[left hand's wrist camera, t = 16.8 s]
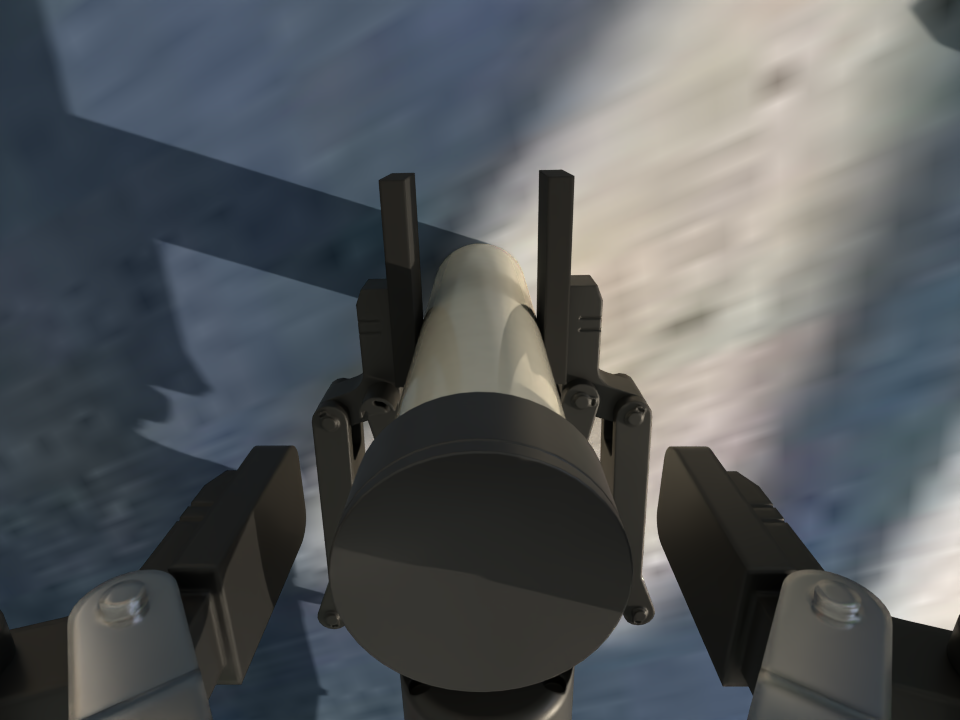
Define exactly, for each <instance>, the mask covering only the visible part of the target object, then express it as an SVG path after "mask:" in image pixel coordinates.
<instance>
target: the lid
mask: <svg viewBox="0 0 960 720" xmlns="http://www.w3.org/2000/svg"><path fill="white" fill-rule="evenodd" d="M328 575H329V586H330V591H331V595H332V599H333V603H334V605H335V607H336V610H337V612H338V615H339V617H340V619H341V620H342V622H343V624H344V625H345V627H346V628H347V630H348V631H349V633H350V634H351V635H352V636H353V638H354V639H355V640H356V641H357V643H358V644H360V645H361V646H362V647H363V648H364V649H365V650H366V651H367V652H368V653H369V654H370V655H371V656H373V657H374V658H376V659H377V660H378V661H380V662H381V663H382V664H384V665H385V666H387V667H389V668H391V669H392V670H394V671H396V672H398V673H400V674H402V675H404V676H406V677H409V678H411V679H413V680H416V681H419V682H422V683H425V684H428V685H431V686H436V687H440V688H445V689H450V690H459V691H469V692H491V691H504V690H510V689H516V688H521V687H525V686H529V685H533V684H536V683H539V682H542V681H545V680H547V679H550V678H553V677H555V676H557V675H559V674H561V673H563V672H565V671H567V670H569V669H571V668H572V667H574V666H575V665H577V664H579V663H580V662H582V661H583V660H585V659H586V658H587V657H588V656H589V655H591V654H592V653H593V652H594V651H595V650H597V649H598V648H599V647H600V645H601V644H602V643H603V642H604V641H605V640H606V639H607V638H608V637H609V635H610V634H611V633H612V631H613V630H614V629H615V627H616V626H617V624H618V622H619V620H620V619H621V617H622V615H623V613H624V611H625V608H626V605H627V602H628V599H629V596H630V592H631V586H632V580H633V561H632V555H631V549H630V545H629V542H628V539H627V536H626V533H625V530H624V527H623V525H622V522H621V519H620V516H619V513H618V511H617V508H616V505H615V502H614V499H613V497H612V494H611V491H610V488H609V485H608V483H607V480H606V477H605V474H604V471H603V469H602V466H601V463H600V461H599V459H598V457H597V455H596V453H595V451H594V449H593V448H592V446H591V445H590V444H589V442H588V441H587V440H586V438H585V437H584V436H583V435H582V434H581V433H580V432H579V431H578V430H577V429H576V428H575V427H574V425H572V424H571V423H570V422H568V421H567V420H566V419H565V418H563V417H562V416H561V415H559V414H557V413H556V412H554V411H552V410H551V409H549V408H547V407H545V406H543V405H541V404H538V403H536V402H533V401H531V400H528V399H525V398H521V397H518V396H514V395H510V394H503V393H497V392H466V393H457V394H452V395H447V396H442V397H439V398H436V399H433V400H430V401H427V402H425V403H423V404H420V405H418V406H416V407H414V408H412V409H410V410H408V411H407V412H405V413H404V414H402V415H401V416H399V417H398V418H396V419H395V420H394V421H392V422H391V423H390V424H389V425H388V426H387V427H386V428H384V429H383V430H382V431H381V433H380V434H379V435H378V436H377V437H376V438H375V440H374V441H373V442H372V444H371V445H370V447H369V448H368V450H367V451H366V453H365V454H364V457H363V459H362V461H361V463H360V466H359V468H358V471H357V474H356V477H355V479H354V482H353V485H352V488H351V491H350V494H349V496H348V499H347V502H346V505H345V508H344V510H343V513H342V516H341V519H340V522H339V525H338V527H337V530H336V533H335V536H334V539H333V543H332V547H331V550H330V555H329V565H328Z"/></svg>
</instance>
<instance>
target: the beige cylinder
mask: <svg viewBox="0 0 960 720" xmlns="http://www.w3.org/2000/svg"><path fill="white" fill-rule="evenodd" d="M466 392H497V393H503V394H510V395H514V396H518V397H521V398H525V399H528V400H531V401H533V402H536V403H538V404H541V405H543V406H545V407H547V408H549V409H551V410H552V411H554V412H556V413H557V414H559V415H561V416H562V417H563V418H565V414H564V411H563V407H562V404H561V401H560V397H559V394H558V390H557V387H556V383H555V380H554V377H553V373H552V370H551V366H550V363H549V360H548V356H547V353H546V349H545V346H544V342H543V339H542V336H541V332H540V329H539V325H538V322H537V319H536V315H535V312H534V308H533V305H532V301H531V298H530V295H529V291H528V288H527V284H526V281H525V278H524V274H523V272H522V269H521V267H520V266H519V264H518V263H517V261H516V260H515V259H514V258H513V257H512V256H511V255H510V254H509V253H507V252H506V251H505V250H503V249H501V248H499V247H496V246H493V245H489V244H471V245H467V246H464V247H461V248H459V249H457V250H456V251H454V252H453V253H451V254H450V255H449V256H448V257H447V258H446V259H445V260H444V261H443V263H442V264H441V266H440V268H439V270H438V272H437V275H436V278H435V281H434V285H433V288H432V292H431V295H430V299H429V302H428V305H427V309H426V312H425V316H424V319H423V323H422V326H421V330H420V333H419V337H418V340H417V344H416V347H415V350H414V354H413V357H412V361H411V364H410V368H409V371H408V375H407V378H406V382H405V385H404V389H403V392H402V395H401V399H400V402H399V406H398V409H397V413H396V416H395V419H396V418H398V417H399V416H401V415H402V414H404V413H405V412H407V411H408V410H410V409H412V408H414V407H416V406H418V405H420V404H423V403H425V402H427V401H430V400H433V399H436V398H439V397H442V396H447V395H452V394H457V393H466ZM565 419H566V418H565Z"/></svg>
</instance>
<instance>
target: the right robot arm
mask: <svg viewBox="0 0 960 720" xmlns="http://www.w3.org/2000/svg"><path fill="white" fill-rule="evenodd" d="M379 191H380V203H381V215H382V228H383V240H384V252H385V265H386V277H387V279H368V281H367V282H366V284H365V285H364V286H363V288H362V289H361V291H360V294H359V298H358V301H357V304H356V308H357V317H358V327H359V334H360V335H359V337H360V347H361V356H362V366H363V373H362V374H360V375H359V376H356V377H353V378H351V379H347V378H340V379H337V380H335V381H334V382H332V384H331V386H330V387H329V389H328V390H327V392H326V394H325V395H324V397H323V399H322V401H321V402H320V404H319V406H318V408H317V410H316V411H315V413H314V415H313V418H312V427H313V436H314V445H315V455H316V464H317V473H318V483H319V492H320V501H321V510H322V520H323V529H324V538H325V548H326V557H327V566H328V565H329V555H330V550H331V547H332V543H333V539H334V536H335V533H336V530H337V527H338V525H339V522H340V519H341V516H342V513H343V510H344V508H345V505H346V502H347V499H348V496H349V494H350V491H351V488H352V485H353V482H354V479H355V477H356V474H357V471H358V468H359V466H360V463H361V461H362V459H363V457H364V454H365V443H364V429H363V422H365V421H367V420H368V422H369V425H370V428H371V431H372V434H373V437H374V440H375V438H376V437H377V436H378V435H379V434H380V433H381V431H382V430H383V429H384V428H386V427H387V426H388V425H389V424H390V423H391V422H392V421H394V420H395V416H396V413H397V409H398V406H399V402H400V399H401V395H402V392H403V389H404V385H405V382H406V378H407V375H408V371H409V368H410V364H411V361H412V357H413V354H414V350H415V347H416V344H417V340H418V337H419V333H420V330H421V326H422V323H423V306H422V289H421V272H420V255H419V238H418V222H417V205H416V188H415V173H392V174H390V175H388V176H386V177H384V178H382V179H380V180H379ZM573 200H574V176H573V175H571V174H569V173H567V172H565V171H564V170H539V211H538V269H537V322H538V325H539V329H540V332H541V336H542V339H543V342H544V346H545V349H546V353H547V356H548V360H549V363H550V366H551V370H552V373H553V377H554V380H555V383H556V387H557V390H558V394H559V397H560V401H561V404H562V407H563V411H564V414H565V418H566V420H567V421H568V422H570V423H571V424H572V425H574V427H575V428H576V429H577V430H578V431H579V432H580V433H581V434H582V435H583V436H584V437H585V438H586V440H587V441H588V440H589V436H590V433H591V430H592V426H593V423H594V419H595V417H598V418H602V423H601V456H600V463H601V466H602V469H603V471H604V474H605V477H606V480H607V483H608V485H609V488H610V491H611V494H612V497H613V499H614V502H615V505H616V508H617V511H618V513H619V516H620V519H621V522H622V525H623V527H624V530H625V533H626V536H627V539H628V542H629V545H630V549H631V555H632V561H633V580H632V586H631V592H630V596H629V599H628V602H627V605H626V608H625V611H624V613H623V615H624V617H625V619H626V620H627V622H629V623H631V624H633V625H642V624H646V623H648V622H649V621H650V620H651V619H652V618H653V617H654V614H655V611H654V607H653V604H652V601H651V599H650V596H649V593H648V590H647V587H646V585H645V582H644V579H643V576H642V564H643V549H644V534H645V519H646V503H647V488H648V473H649V458H650V442H651V427H652V412H651V409H650V408H649V406H648V404H647V403H646V401H645V399H644V398H643V396H642V394H641V393H640V391H639V389H638V388H637V386H636V384H635V383H634V381H633V380H632V378H631V377H630V376H628V375H626V374H622V373H618V374H610V373H607V372H604V371H602V370H600V369H599V356H600V339H601V322H602V319H601V317H602V306H603V300H602V297H601V294H600V291H599V288H598V286H597V284H596V283H595V281H594V280H593V279H592V277H591V276H590V275H571V252H572V226H573ZM318 620H319V622H320V623H321V624H322V625H323V626H325V627H327V628H330V629H338V628H341V627H343V626H345V625H344V624H343V622H342V620H341V619H340V617H339V615H338V612H337V610H336V607H335V605H334V603H333V599H332V595H331V591H330V586H329V582H328V585H327V588H326V591H325V594H324V597H323V600H322V603H321V606H320V609H319V612H318ZM400 678H401V688H402V699H403V709H404V719H405V720H572V702H573V683H574V667H572V668H571V669H569V670H567V671H565V672H563V673H561V674H559V675H557V676H555V677H553V678H550V679H547V680H545V681H542V682H539V683H536V684H533V685H529V686H525V687H521V688H516V689H510V690H504V691H491V692H469V691H459V690H450V689H445V688H440V687H436V686H431V685H428V684H425V683H422V682H419V681H416V680H413V679H411V678H409V677H406V676H404V675H402V674H400Z"/></svg>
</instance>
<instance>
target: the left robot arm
mask: <svg viewBox="0 0 960 720" xmlns="http://www.w3.org/2000/svg"><path fill="white" fill-rule="evenodd" d="M305 526H306V509H305V501H304V494H303V486H302V479H301V471H300V463H299V456H298V452H297V449H296V448H295V447H294V446H255V447H253V449H252V450H251V451H250V453H249V454H248V456H247V457H246V458H245V460H244V461H243V463H242V464H241V465H240V467H239V468H238V470H227V471H225V472H224V473H222V474H221V475H219V476H218V477H216V478H215V479H213V480H212V481H210V482H209V483H207V484H206V485H204V487H203V488H202V489H201V491H200V492H199V493H198V495H197V496H196V497H195V499H194V500H193V501H192V502H191V507H188V508H187V509H186V510H185V512H184V513H183V514H182V515H181V517H180V521H177V522H176V523H175V525H174V526H173V527H172V528H171V530H170V531H169V532H168V534H167V535H166V536H165V538H164V539H163V540H162V541H161V543H160V544H159V545H158V547H157V548H156V549H155V551H154V552H153V553H152V554H151V556H150V557H149V558H148V560H147V561H146V562H145V564H144V565H143V566H142V567H141V569H140V570H138V571H133V572H129V573H126V574H122V575H119V576H117V577H114V578H112V579H110V580H108V581H106V582H104V583H102V584H100V585H99V586H97V587H95V588H94V589H92V590H91V591H90V592H88V593H87V594H86V595H85V596H84V597H82V598H81V599H80V600H79V602H78V603H77V604H76V605H75V606H74V608H73V609H72V611H71V613H70V615H69V616H67V617H64V618H59V619H55V620H50V621H46V622H42V623H37V624H33V625H29V626H24V627H20V628H15V629H11V630H9V627H8V625H7V622H6V620H5V617H4V615H3V613H2V611H1V610H0V720H213V718H212V714H211V710H210V706H209V702H208V700H209V698H210V696H211V694H212V692H213V689H214V687H215V685H216V684H224V685H241V684H242V682H243V679H244V677H245V675H246V672H247V670H248V668H249V665H250V663H251V661H252V658H253V656H254V654H255V651H256V649H257V647H258V644H259V642H260V640H261V637H262V635H263V633H264V630H265V628H266V626H267V623H268V621H269V619H270V616H271V614H272V612H273V609H274V607H275V605H276V602H277V600H278V598H279V595H280V593H281V591H282V588H283V586H284V584H285V581H286V579H287V577H288V574H289V572H290V570H291V567H292V565H293V563H294V560H295V558H296V556H297V553H298V551H299V549H300V546H301V544H302V541H303V538H304V533H305ZM657 528H658V535H659V539H660V542H661V545H662V547H663V550H664V552H665V554H666V557H667V559H668V561H669V564H670V566H671V568H672V570H673V573H674V575H675V577H676V580H677V582H678V584H679V587H680V589H681V591H682V593H683V596H684V598H685V600H686V603H687V605H688V607H689V610H690V612H691V614H692V616H693V619H694V621H695V623H696V626H697V628H698V630H699V633H700V635H701V637H702V639H703V642H704V644H705V646H706V649H707V651H708V653H709V656H710V658H711V660H712V662H713V665H714V667H715V669H716V672H717V674H718V676H719V679H720V681H721V683H722V686H749V688H750V690H751V693H752V695H753V699H752V702H751V706H750V710H749V714H748V718H747V720H960V615H959V617H958V619H957V622H956V625H955V627H954V630H953V631H950V630H946V629H941V628H937V627H933V626H928V625H924V624H920V623H915V622H911V621H906V620H902V619H898V618H895V617H891V615H890V613H889V611H888V609H887V608H886V606H885V605H884V604H883V603H882V602H881V600H880V599H879V598H878V597H876V596H875V595H874V594H873V593H872V592H870V591H869V590H868V589H866V588H865V587H863V586H861V585H860V584H858V583H856V582H854V581H852V580H850V579H848V578H846V577H843V576H841V575H838V574H834V573H831V572H827V571H824V569H823V568H822V567H821V566H820V564H819V563H818V562H817V560H816V559H815V558H814V557H813V555H812V554H811V553H810V551H809V550H808V549H807V548H806V546H805V545H804V544H803V542H802V541H801V540H800V539H799V537H798V536H797V535H796V533H795V532H794V531H793V530H792V528H791V527H790V526H789V524H788V523H785V522H784V518H783V517H782V515H781V514H780V513H779V512H778V510H777V509H776V508H773V504H772V503H771V501H770V500H769V499H768V497H767V496H766V495H765V494H764V492H763V491H762V490H761V488H760V487H759V486H758V485H756V484H755V483H753V482H752V481H750V480H749V479H747V478H746V477H744V476H743V475H741V474H740V473H738V472H737V471H726V470H725V469H724V467H723V466H722V464H721V463H720V462H719V460H718V459H717V457H716V456H715V455H714V453H713V452H712V450H711V449H710V448H709V447H669V448H668V449H667V450H666V453H665V457H664V464H663V472H662V479H661V487H660V494H659V501H658V509H657Z"/></svg>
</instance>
